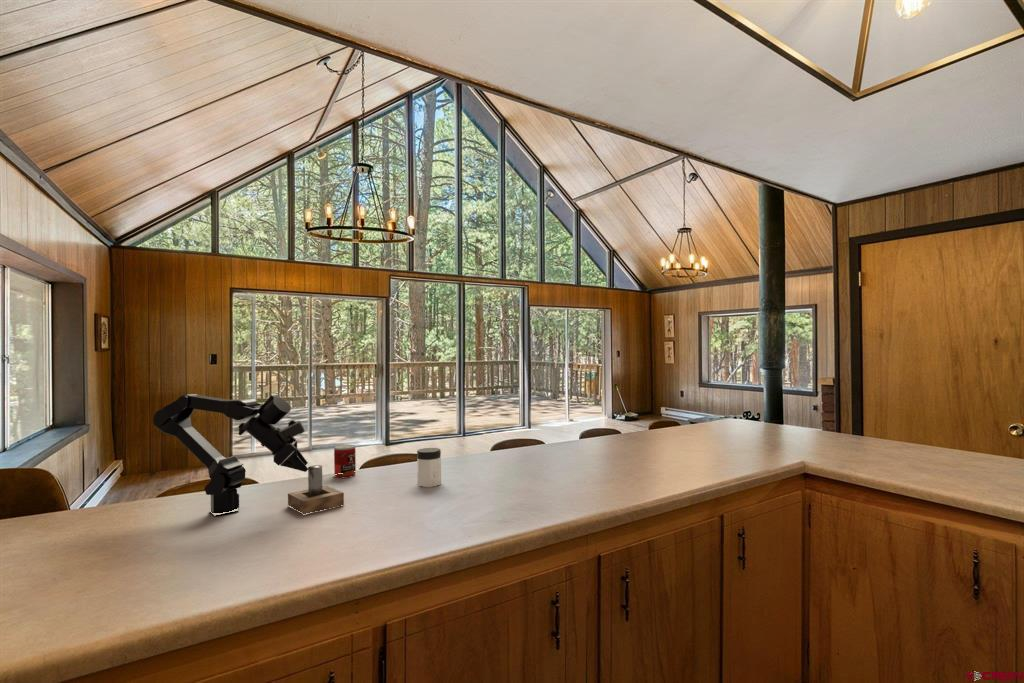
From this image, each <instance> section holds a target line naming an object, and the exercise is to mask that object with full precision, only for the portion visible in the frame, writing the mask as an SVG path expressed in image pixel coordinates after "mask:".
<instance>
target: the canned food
mask: <svg viewBox="0 0 1024 683" xmlns="http://www.w3.org/2000/svg"><path fill="white" fill-rule="evenodd" d="M333 450H334V451H333V452H334V453H333V457H334V458H333V460H334V462H333V464H334V466H333V467H334V469H333V470H334V476H336V478H338V479H342V478H341V477H347V478H351V477H350V476H352V477H355V475H356V472H354V471H356V470H357V468H356V466H357V465H356V460H357V459H356V456H357V455H356V454H357V453H356V445H355V444H340V445H336V446H334V448H333ZM338 473H343V474H338ZM335 474H337V475H335ZM354 474H355V475H354Z"/></svg>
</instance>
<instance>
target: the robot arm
mask: <svg viewBox="0 0 1024 683" xmlns="http://www.w3.org/2000/svg"><path fill="white" fill-rule="evenodd" d="M195 410H200V411H206V412H213V413H214V412H215V413H217V414H218V413H219V414H222V415H224V416H226V418H229V419H232V420H234V421H242V420H243V421H244V420H246V419H248V420H247V421H246V422H244V423H243V422H241V423H240V424H239V425H238V435H239V436H242V435H243V434H244V433H245V432H247V433H248V434H249V435H250V436H251V437H253V438H254V439H255V440H256V441H258V442H259V443H260V446H262V447H265V448H266V449H268V450H269V451H270V452H271V454H272V455H273V463H275V465H277V466H280V467H286V468H289V469H294V470H297V471H301V472H304V473H306V472H308V467H307V465H308V464H309V462H308V461H307V459H306V458H305V457H304V456H303V454H302V453H301V451H300V450H299V449H298V440H297V438H296V437H295V436H297V435H299V434H300V435H301V434H304V432H305V428H304V426H303V424H302V422H301V421H300V420H297V421H295V420H294V419H291V420H289V421H288V423H287V426H286V427H284V428H282V429H281V428H280V427H278V426H277V427H276V426H274V425H277V424H278V423H279V422H280V421H281V420H282V419H284V418H285V417H286V415H287V414H289V413H290V412H291V406H290V404H289V402H287V401H285V400H284V399H283V398H281V397H278V396H277V395H276V394H274V395H271V396H269V398H267V400H266V401H265V402H264V403H261V402H260V403H259V402H258V400H257V399H256V398H255V399H254V398H239V399H238V398H236V399H227V398H220V397H215V396H214V397H213V396H208V395H207V396H206V395H200V394H197V393H190V394H183V395H181V396H179V397H178V398H177V399H176V400H174V401H173V402H170V403H169V404H168V405H165V406H164V407H162V408H161V409H158V410H157V411H156V412H155V413H154V415H153V417H152V418H153V419H152V420H153V422H152V423H153V425H154V426H155V428H157V429H158V430H159V431H161V432H163V433H164V434H167V435H169V436H173V437H174V438H175V437H176V438H177V439H178V441H180V443H182V444H183V445H184V446H185V447H186V448H187V449H188V450H189V451H190V452H191V454H193V455H194V456H195V457H196V458H197V459H198V460H199V462H201V463H202V464H203V465H204V466H205V467H206V468H207V470H208V477H209V479H210V481H209V482H208V483H207V484H206V485H205V487H204V492H205V494H206V495H207V496H210V510H211V512H212V513H223V512H229V511H232V510H234V509H237V508H238V509H239V508H240V494H239V493H238V489H239V488H241V487H242V485H243V482H244V480H245V479H246V468H245V467H244V463H242V462H240V460H239V459H238V458H237V457H236V456H235V455H232V456H229V457H225V456H223V455H222V454H221V452H219V451H218V450H217V449H216V448H215V447H214V446H213V445H212V444H211V443H210V442H209V441H208V440H207V439H206V438H205V437H204V436H202V434H201V433H200V432H198V430H197V429H195V428H194V426H193V424H192V420H191V417H190V416H192V415H193V413H194V412H195ZM257 415H258V416H257Z"/></svg>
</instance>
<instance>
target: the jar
mask: <svg viewBox="0 0 1024 683" xmlns="http://www.w3.org/2000/svg"><path fill="white" fill-rule="evenodd" d="M441 451H442V450H441V448H438V447H425V448H424V447H423V448H419V449H417V451H416V454H417V455H416V456H417V457H416V459H417V460H416V462H417V465H416V466H417V470H416V471H417V486H418V487H419V486H423V487H422V488H433V486H434V487H438V486H437V485H439V486H441V485H442V458H441V453H442V452H441Z"/></svg>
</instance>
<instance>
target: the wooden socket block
mask: <svg viewBox="0 0 1024 683" xmlns="http://www.w3.org/2000/svg"><path fill="white" fill-rule="evenodd" d="M344 493H345V492H343V491H340V490H338V489H336V488H334V487H331V486H328V485H323V495H319V496H314V497H308V489H303V490H298V491H294V492H289V493H287V506H288V505H289V506H291V507H293V508H294V509H296V510H298V511H300V512H302V513H303V514H306V513H310V512H315V511H320V510H324V509H329V508H333V507H337V506H341V505H344V506H345V498H344V495H345V494H344ZM337 508H338V507H337ZM333 509H334V508H333ZM329 510H330V509H329Z"/></svg>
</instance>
